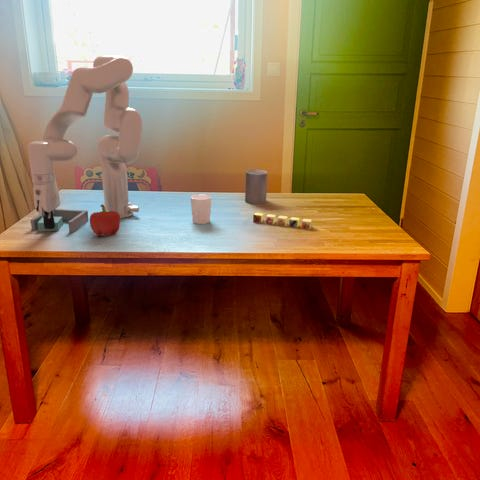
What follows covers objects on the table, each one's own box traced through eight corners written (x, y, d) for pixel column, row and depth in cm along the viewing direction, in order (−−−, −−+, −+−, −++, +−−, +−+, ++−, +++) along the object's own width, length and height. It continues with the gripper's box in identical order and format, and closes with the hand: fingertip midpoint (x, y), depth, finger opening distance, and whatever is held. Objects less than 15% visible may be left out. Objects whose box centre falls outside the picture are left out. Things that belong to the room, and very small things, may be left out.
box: (88, 220, 184) (87, 210, 183) (72, 232, 171) (71, 221, 170) (50, 218, 186) (49, 208, 184) (31, 230, 173) (30, 219, 171)
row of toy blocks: (256, 211, 203) (256, 203, 202) (331, 220, 193) (331, 212, 191) (229, 234, 174) (229, 225, 173) (315, 246, 164) (315, 237, 163)
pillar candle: (243, 198, 219) (244, 166, 214) (264, 198, 220) (265, 166, 215) (246, 204, 210) (247, 171, 205) (268, 204, 211) (269, 171, 206)
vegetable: (89, 231, 173) (86, 204, 170) (117, 227, 177) (115, 202, 174) (93, 240, 164) (90, 213, 160) (123, 237, 168) (121, 210, 164)
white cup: (215, 221, 187) (215, 197, 183) (200, 226, 181) (200, 200, 178) (201, 217, 192) (201, 193, 188) (187, 221, 186) (186, 196, 183)
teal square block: (63, 225, 179) (62, 216, 178) (58, 231, 173) (57, 222, 172) (43, 225, 179) (42, 216, 177) (38, 232, 172) (37, 222, 171)
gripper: (43, 183, 157) (50, 235, 163) (63, 173, 170) (69, 222, 177) (21, 182, 157) (29, 234, 164) (43, 172, 171) (49, 221, 177)
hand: (49, 228), depth 170 cm, fingers closed
